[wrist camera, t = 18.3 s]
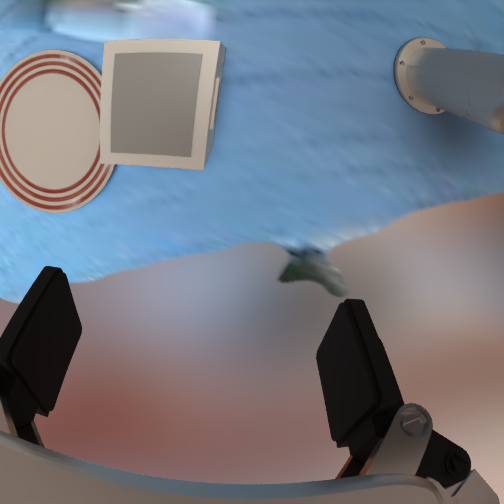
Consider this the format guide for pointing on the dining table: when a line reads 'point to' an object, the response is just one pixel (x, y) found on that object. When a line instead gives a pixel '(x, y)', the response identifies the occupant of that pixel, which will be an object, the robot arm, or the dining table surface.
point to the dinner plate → (52, 132)
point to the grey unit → (159, 101)
